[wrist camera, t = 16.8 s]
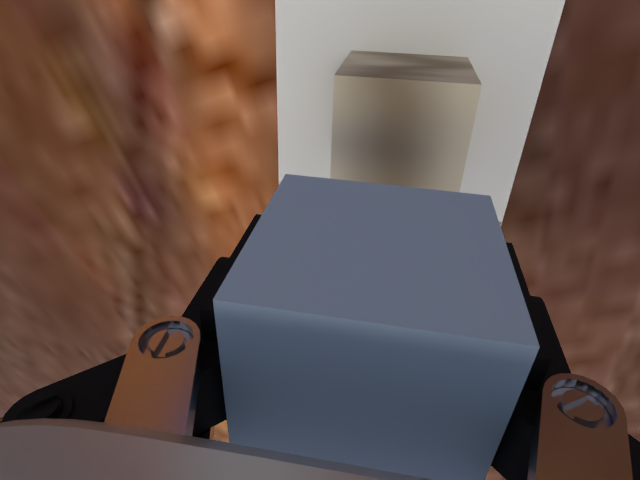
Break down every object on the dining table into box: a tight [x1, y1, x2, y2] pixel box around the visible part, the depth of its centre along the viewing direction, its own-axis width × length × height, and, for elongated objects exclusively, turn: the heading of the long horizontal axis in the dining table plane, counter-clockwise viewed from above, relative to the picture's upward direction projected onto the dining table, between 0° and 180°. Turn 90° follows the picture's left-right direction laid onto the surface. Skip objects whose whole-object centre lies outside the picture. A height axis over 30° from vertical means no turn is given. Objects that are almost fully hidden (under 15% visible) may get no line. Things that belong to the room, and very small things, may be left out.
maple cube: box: [330, 50, 482, 192], centre depth 23 cm, size 6×6×6 cm
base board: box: [275, 0, 565, 227], centre depth 26 cm, size 14×14×2 cm
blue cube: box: [213, 174, 540, 480], centre depth 10 cm, size 5×5×5 cm
